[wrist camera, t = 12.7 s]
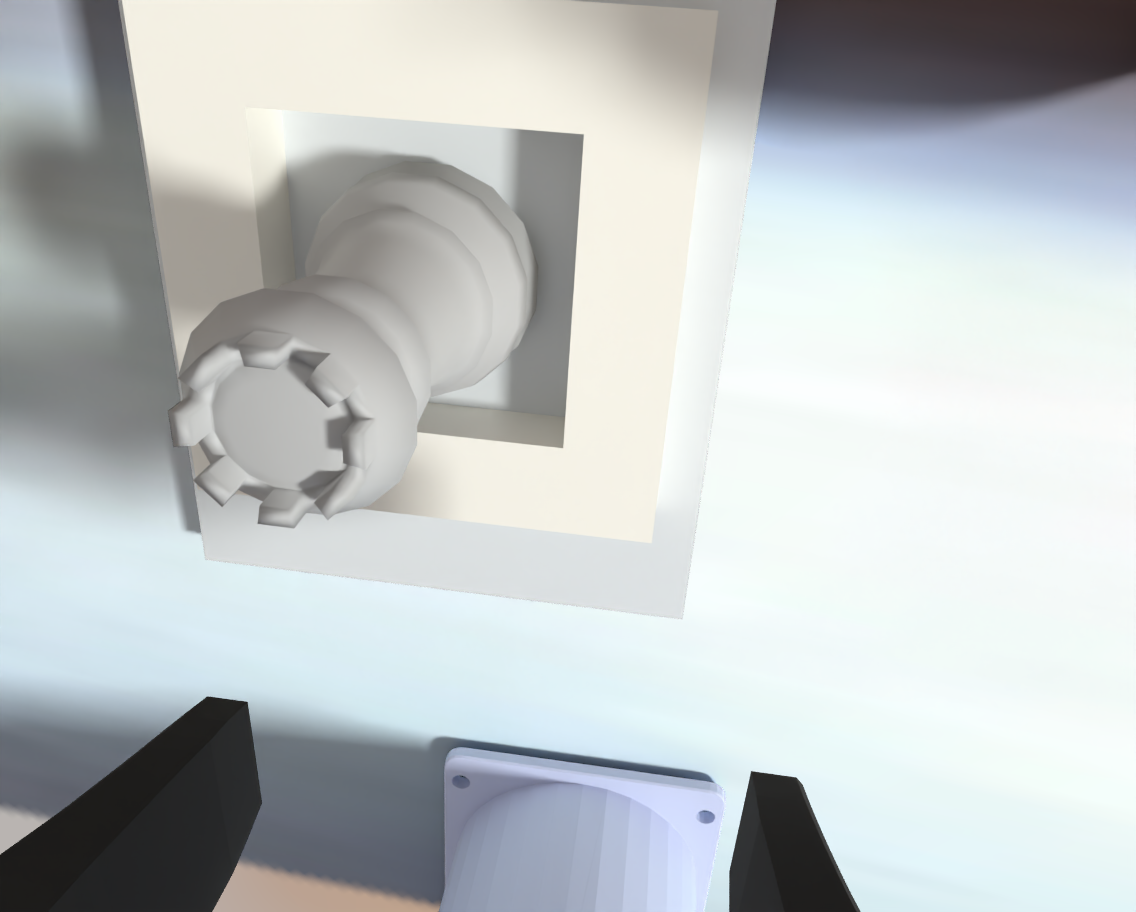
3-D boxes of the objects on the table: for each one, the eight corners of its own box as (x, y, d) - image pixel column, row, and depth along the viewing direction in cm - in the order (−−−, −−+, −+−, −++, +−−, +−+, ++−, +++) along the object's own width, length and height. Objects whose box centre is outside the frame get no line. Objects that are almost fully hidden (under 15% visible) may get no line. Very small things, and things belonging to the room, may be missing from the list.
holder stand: (682, 595, 22) (681, 660, 20) (223, 538, 23) (174, 594, 21) (799, -187, 14) (819, -224, 12) (115, -221, 15) (19, -261, 13)
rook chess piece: (408, 405, 19) (244, 633, 12) (286, 226, 18) (18, 366, 11) (583, 315, 18) (513, 514, 11) (467, 111, 16) (296, 185, 9)
